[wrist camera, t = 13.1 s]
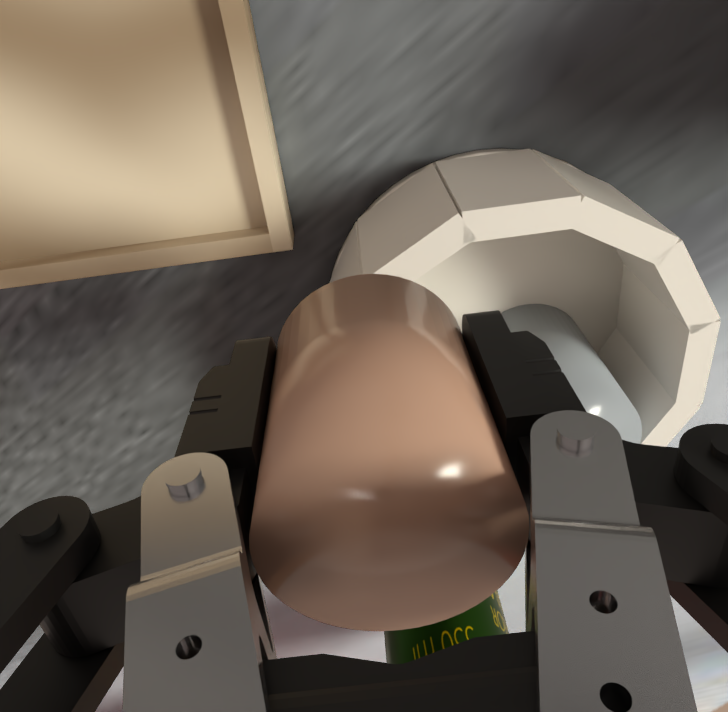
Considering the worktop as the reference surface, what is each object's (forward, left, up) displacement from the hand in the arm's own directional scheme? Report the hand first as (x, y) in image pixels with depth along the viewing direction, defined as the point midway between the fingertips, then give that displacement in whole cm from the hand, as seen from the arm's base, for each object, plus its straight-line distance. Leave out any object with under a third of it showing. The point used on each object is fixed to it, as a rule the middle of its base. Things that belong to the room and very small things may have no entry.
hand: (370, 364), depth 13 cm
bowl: (+3, +4, -8) cm, 10 cm away
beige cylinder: (0, 0, 0) cm, 0 cm away
